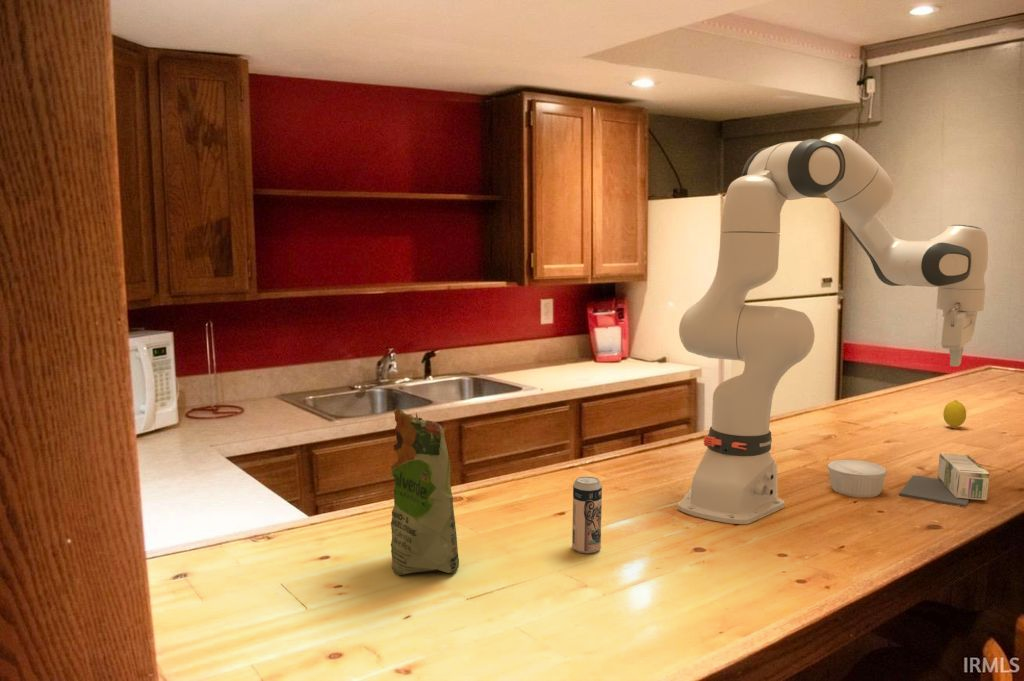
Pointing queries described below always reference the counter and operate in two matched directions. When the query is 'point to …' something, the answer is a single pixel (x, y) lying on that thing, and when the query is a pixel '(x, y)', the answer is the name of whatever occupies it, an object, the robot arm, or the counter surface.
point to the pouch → (422, 499)
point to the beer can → (587, 515)
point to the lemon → (954, 413)
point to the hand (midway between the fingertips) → (955, 365)
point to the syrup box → (963, 476)
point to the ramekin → (856, 478)
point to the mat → (930, 491)
